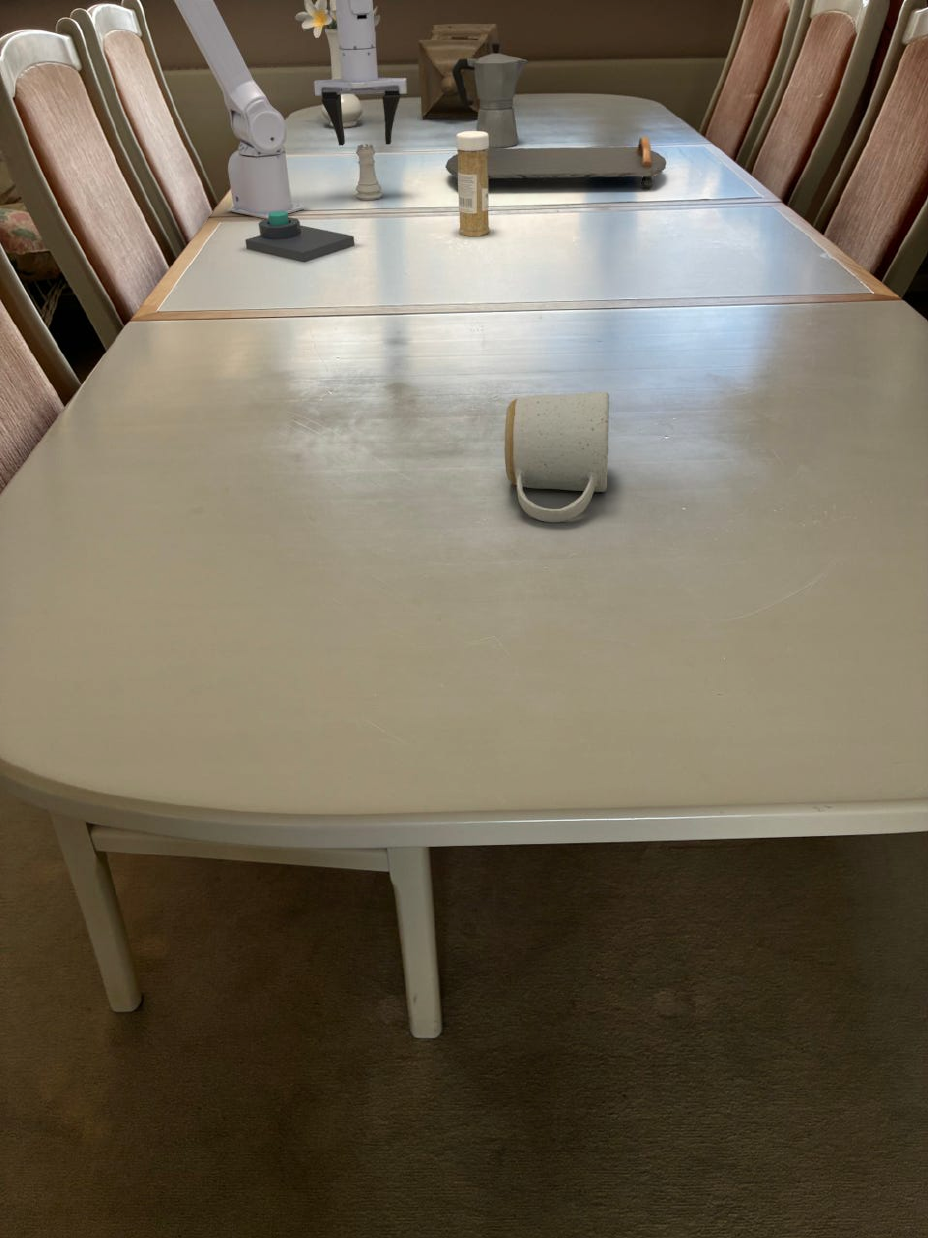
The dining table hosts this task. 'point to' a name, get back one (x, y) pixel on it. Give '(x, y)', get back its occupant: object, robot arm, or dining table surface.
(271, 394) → the dining table surface
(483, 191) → the sprinkles bottle
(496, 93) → the coffeepot
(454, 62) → the ornamental box
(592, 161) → the serving tray
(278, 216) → the button
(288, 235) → the dark grey flat block
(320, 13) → the flower vase
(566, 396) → the ceramic mug
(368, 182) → the rook chess piece
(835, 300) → the dining table surface
